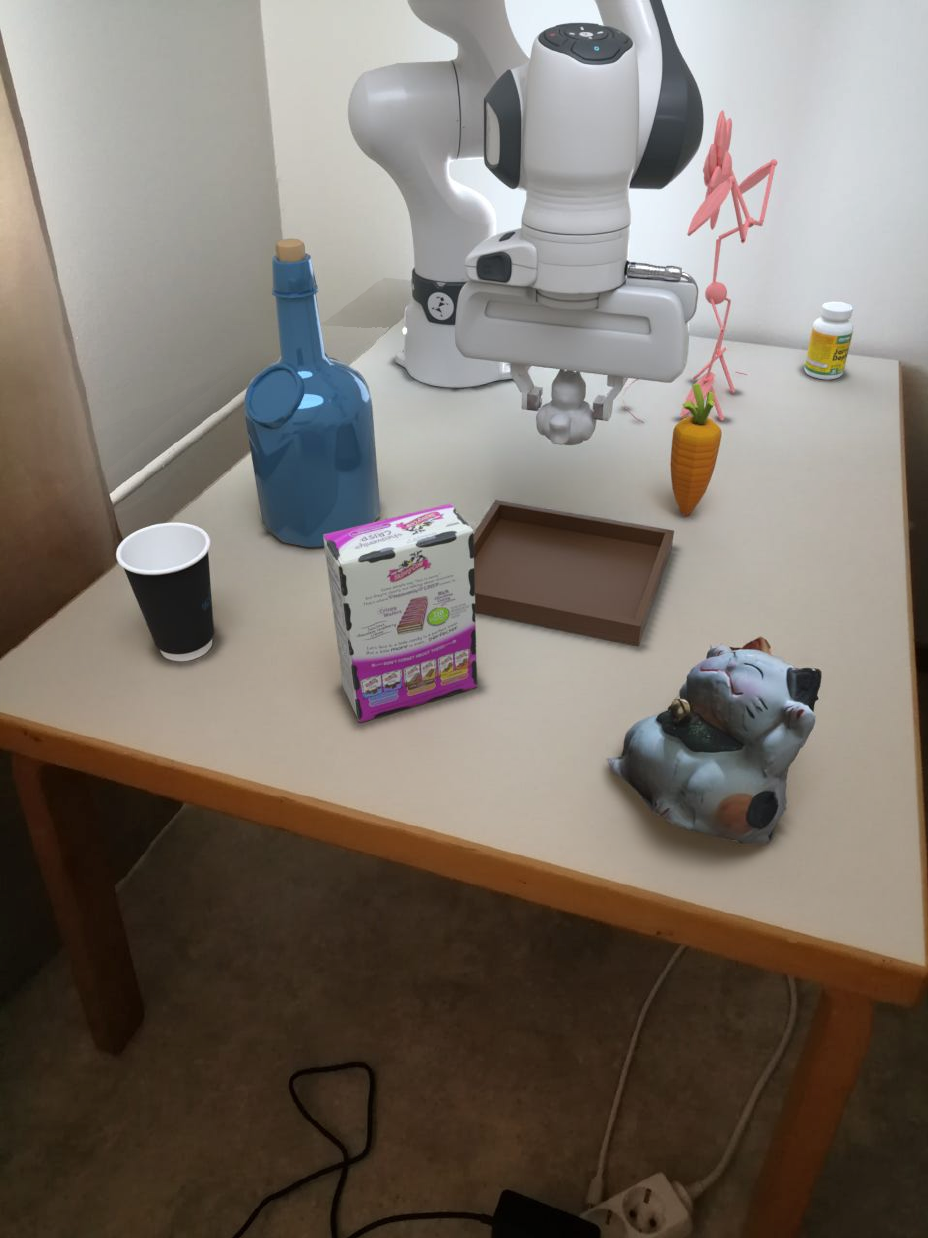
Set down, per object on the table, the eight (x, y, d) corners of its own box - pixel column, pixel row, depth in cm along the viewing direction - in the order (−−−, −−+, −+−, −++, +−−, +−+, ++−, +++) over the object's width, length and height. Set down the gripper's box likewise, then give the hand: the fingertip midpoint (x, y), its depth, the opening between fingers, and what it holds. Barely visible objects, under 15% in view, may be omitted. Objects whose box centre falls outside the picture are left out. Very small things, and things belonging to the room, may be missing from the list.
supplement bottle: (815, 362, 141) (830, 296, 135) (849, 372, 138) (866, 305, 132) (796, 372, 138) (809, 306, 132) (830, 383, 135) (846, 315, 129)
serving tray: (495, 518, 108) (495, 499, 106) (671, 549, 103) (674, 530, 101) (439, 605, 95) (439, 585, 94) (638, 646, 90) (640, 626, 88)
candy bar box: (456, 656, 89) (452, 500, 79) (478, 689, 85) (478, 529, 75) (339, 689, 85) (320, 530, 75) (357, 725, 82) (340, 563, 72)
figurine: (749, 370, 139) (798, 96, 118) (718, 449, 120) (770, 139, 99) (644, 355, 144) (672, 89, 123) (598, 429, 125) (622, 129, 103)
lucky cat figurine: (588, 742, 80) (656, 588, 76) (713, 776, 83) (784, 629, 79) (653, 844, 66) (740, 662, 62) (800, 879, 69) (891, 708, 65)
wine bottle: (317, 478, 115) (286, 214, 97) (405, 511, 109) (390, 235, 91) (233, 529, 107) (182, 249, 88) (324, 568, 100) (289, 275, 82)
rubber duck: (601, 432, 92) (607, 351, 87) (584, 464, 87) (590, 379, 82) (545, 425, 93) (548, 344, 89) (526, 455, 88) (528, 371, 84)
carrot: (707, 529, 106) (729, 400, 97) (661, 524, 106) (678, 396, 97) (708, 505, 110) (728, 380, 100) (663, 501, 110) (679, 376, 101)
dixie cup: (127, 644, 91) (99, 545, 84) (201, 608, 95) (180, 512, 88) (170, 684, 86) (144, 583, 80) (246, 645, 90) (227, 546, 84)
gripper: (707, 257, 79) (686, 414, 88) (471, 236, 85) (473, 385, 93) (695, 280, 75) (674, 444, 83) (446, 257, 80) (450, 412, 89)
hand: (566, 412), depth 88 cm, fingers closed on rubber duck, 5 cm apart
